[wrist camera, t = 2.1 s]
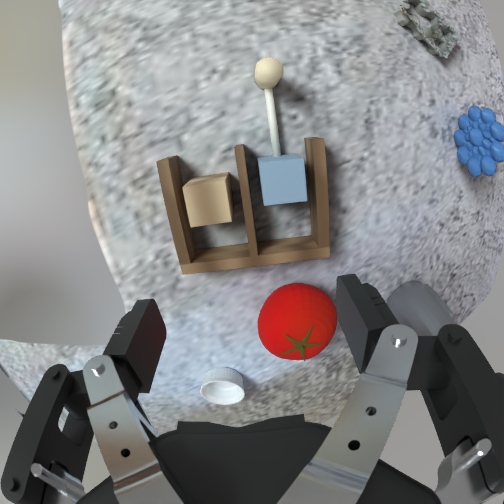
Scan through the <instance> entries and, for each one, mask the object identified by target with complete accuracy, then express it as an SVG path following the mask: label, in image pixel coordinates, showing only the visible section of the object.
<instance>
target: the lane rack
mask: <svg viewBox="0 0 504 504" xmlns="http://www.w3.org/2000/svg"><path fill="white" fill-rule="evenodd" d="M304 139H305V149H306V160H307V171H308V183H309V197H310V212H311V230H312V235H311V236H303V237H294V238H286V239H277V240H269V241H261V242H257V238H256V230H255V223H254V215H253V208H252V200H251V193H250V186H249V178H248V171H247V164H246V157H245V149H244V144H241V145H236V146H235V147H234V148H235V155H236V162H237V169H238V176H239V183H240V190H241V197H242V203H243V210H244V217H245V224H246V231H247V238H248V243H245V244H237V245H229V246H221V247H213V248H205V249H197V250H196V246H195V241H194V237H193V232H192V228H191V227H190V222H189V217H188V213H187V208H186V203H185V198H184V193H183V188H182V187H183V184H182V179H181V174H180V168H179V163H178V157H177V156H172V157H167V158H164V159H162V160H159V161H157V168H158V173H159V178H160V183H161V187H162V192H163V197H164V201H165V206H166V210H167V215H168V219H169V223H170V227H171V231H172V235H173V239H174V243H175V247H176V251H177V255H178V259H179V263H180V266H181V270H182V274H183V275H184V274H193V273H202V272H211V271H220V270H229V269H237V268H246V267H254V266H263V265H271V264H279V263H287V262H295V261H303V260H311V259H319V258H327V257H330V235H329V203H328V183H327V168H326V154H325V143H324V138H317V137H312V138H304Z"/></svg>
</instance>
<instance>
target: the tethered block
mask: <svg viewBox="0 0 504 504" xmlns="http://www.w3.org/2000/svg"><path fill="white" fill-rule="evenodd" d="M282 75H283V66H282V64H281V63H280V62H279V61H278V60H277V59H274V58H264V59H262V60H260V61H259V62H258V63H257V65H256V69H255V78H254V80H255V83H256V85H257V86H258V87H259V88H261V89H264V91H265V98H266V105H267V112H268V120H269V128H270V136H271V144H272V152H273V156H266V157H257V160H258V167H259V175H260V183H261V191H262V197H263V203H264V206H267V205H275V204H284V203H293V202H303V201H307V191H306V179H305V167H304V158H302V157H300V156H299V155H297V154H285V155H281V152H280V144H279V136H278V127H277V120H276V112H275V104H274V97H273V90H272V88H274V87H275V86H276V85H277V83H278V81H279V80H280V78H281V76H282Z"/></svg>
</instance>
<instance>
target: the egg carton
mask: <svg viewBox="0 0 504 504" xmlns="http://www.w3.org/2000/svg"><path fill="white" fill-rule="evenodd" d="M409 2H411V3H412V4H413V5H414V6H415V10H416V12H417V13H418V14H419V15H421V16H427V17H428V18H429V19H430V23H431V26H432V27H429V28H427V29H425V30H424V31H423V29H422V28H420V21H419V20H418V18H417V17H416V16H414V15H409V14H408V13H407V12H406V10H408V9H409V8H410V4H409ZM400 6H401V7H400V8H399V9H397V10H396V11H395V12H394V13H393V14H394V15H395V17H396V18H397V23H398V24H399V25H401V26H407V27H409V28H410V29H411V30H412V32H413V37H414V38H416V39H417V40H423V41H425V42H426V44H427V45H428V48H429V50H428V51H429V52H430V53H431V54H432V55H434V54H436V55H438V56H444V57H445V58H446V59H447V58H448V55H449V54H450V53H451V52H452V49H453V48H454V47H455V45H456V44H457V43H456V42H457V41H458V40H459V38H460V34H458V33H457V32H456V31H455V30H454V29H453V28H452V27H450V26H449V24H448V23H447V22H445V20H444V17H442V16H441V15H440V14H439V13H438V12H437V11H436V10H435V9H434V8H432V7H431V5H430V4H429V3H428V2H427V1H426V0H403V1H402V2H401V3H400ZM442 32H443V33H444V37H445V40H446V42H442V43H440V44H439V50H440V51H441V53H439V52H438V51H437V50H436V49H437V48H436V44H435V43H434V41H435V40H438V39H441V38H442V36H443V34H442ZM424 34H425V36H426V38H424Z"/></svg>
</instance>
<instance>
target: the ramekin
mask: <svg viewBox="0 0 504 504" xmlns="http://www.w3.org/2000/svg"><path fill="white" fill-rule="evenodd" d="M200 392H201V395H202V396H203V397H204V398H205V399H206V400H208V401H210V402H213V403H216V404H222V405H228V404H234V403H237V402H239V401H241V400H242V399H243V398H244V396H245V391H244V388H243V378H242V376H241V375H240V373H238V372H237V371H235V370H233V369H231V368H226V367H217V368H213V369H211V370H209V371H208V372H207V373H206V374H205V377H204V381H203V384H202V386H201V389H200Z"/></svg>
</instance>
